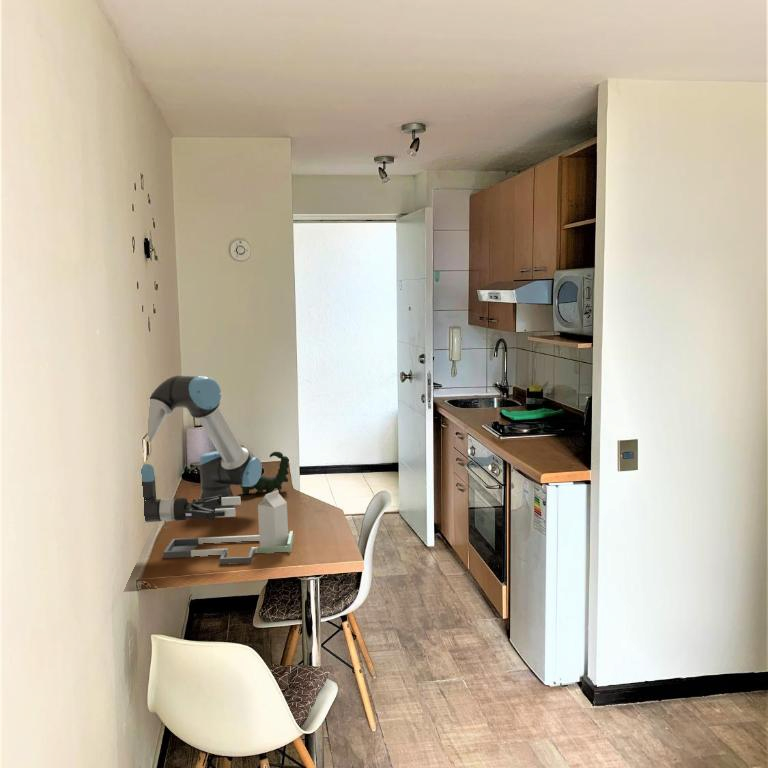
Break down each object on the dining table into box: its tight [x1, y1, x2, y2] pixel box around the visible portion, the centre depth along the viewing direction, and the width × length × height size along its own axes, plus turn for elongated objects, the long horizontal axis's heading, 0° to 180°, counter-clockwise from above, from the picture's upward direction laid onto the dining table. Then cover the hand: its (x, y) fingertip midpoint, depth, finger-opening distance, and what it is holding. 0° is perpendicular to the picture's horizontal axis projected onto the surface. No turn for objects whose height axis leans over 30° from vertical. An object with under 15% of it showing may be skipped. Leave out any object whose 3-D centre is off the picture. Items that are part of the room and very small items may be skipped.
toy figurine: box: [239, 451, 290, 495], centre depth 336 cm, size 9×19×25 cm
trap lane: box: [162, 530, 294, 565], centre depth 259 cm, size 23×42×3 cm, turn 93°
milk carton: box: [257, 489, 289, 547], centre depth 263 cm, size 7×7×19 cm
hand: (238, 506), depth 262 cm, fingers open, 13 cm apart
